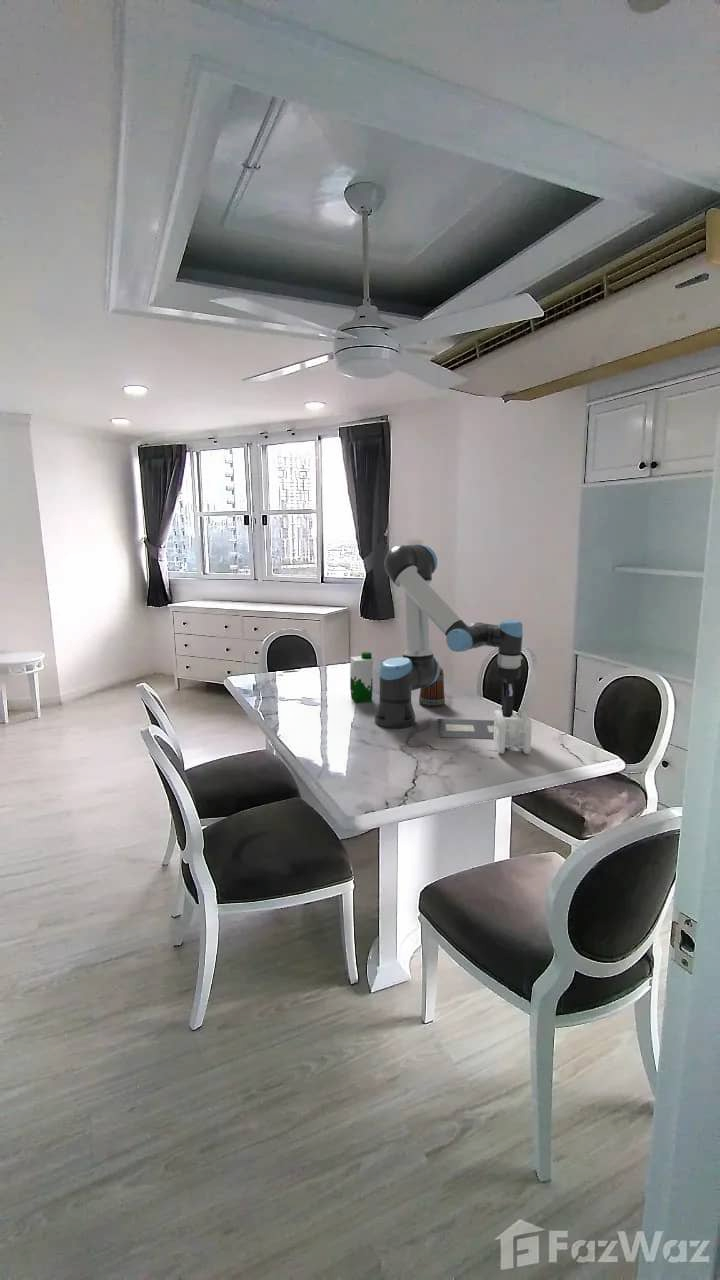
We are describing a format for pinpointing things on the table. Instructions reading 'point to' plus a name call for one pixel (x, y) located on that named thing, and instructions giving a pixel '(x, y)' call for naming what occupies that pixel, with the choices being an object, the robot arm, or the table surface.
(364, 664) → the milk carton
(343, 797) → the table surface
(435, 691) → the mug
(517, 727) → the cable organizer
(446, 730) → the panel
